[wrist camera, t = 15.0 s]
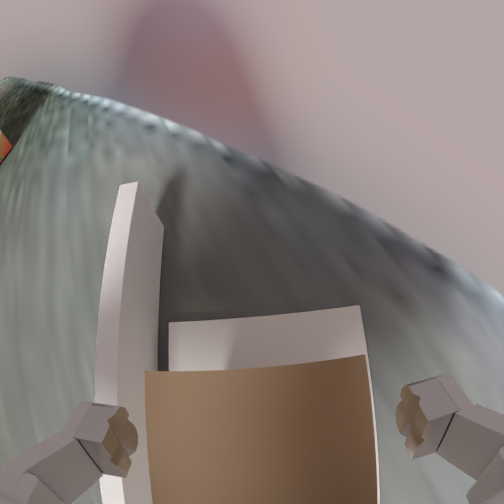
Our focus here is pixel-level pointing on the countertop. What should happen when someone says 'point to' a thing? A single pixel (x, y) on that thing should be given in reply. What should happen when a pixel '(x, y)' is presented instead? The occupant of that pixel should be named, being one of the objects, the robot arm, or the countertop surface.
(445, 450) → the robot arm
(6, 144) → the cracker box
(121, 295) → the low wall
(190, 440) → the maple block
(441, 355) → the countertop surface
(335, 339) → the pad
